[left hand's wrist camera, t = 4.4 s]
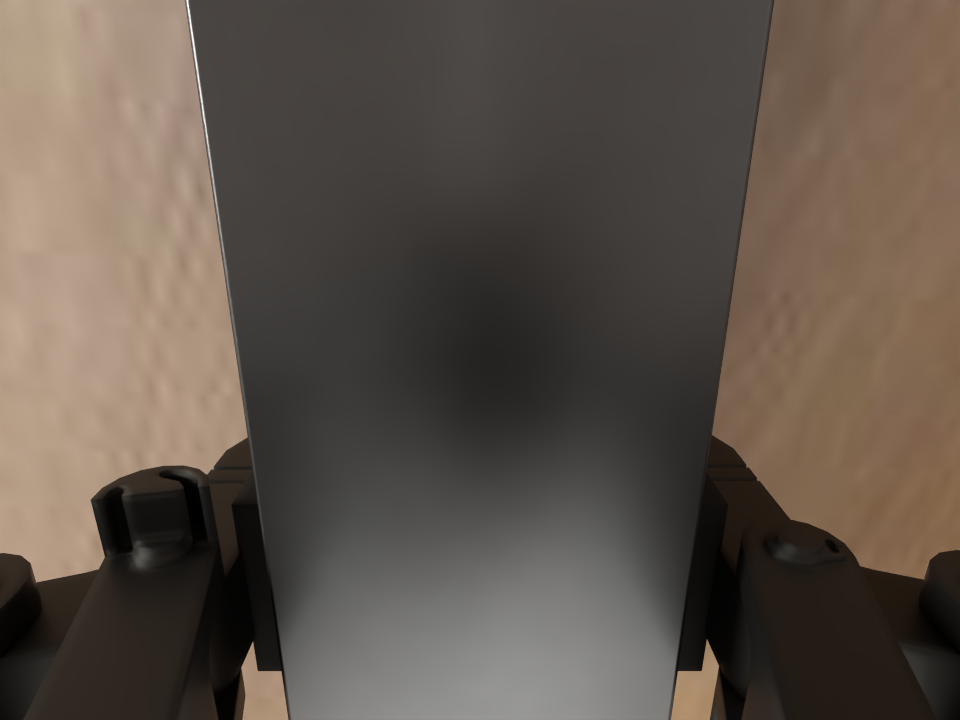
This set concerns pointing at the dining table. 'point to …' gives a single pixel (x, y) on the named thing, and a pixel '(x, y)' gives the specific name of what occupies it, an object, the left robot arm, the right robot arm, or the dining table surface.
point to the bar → (479, 334)
